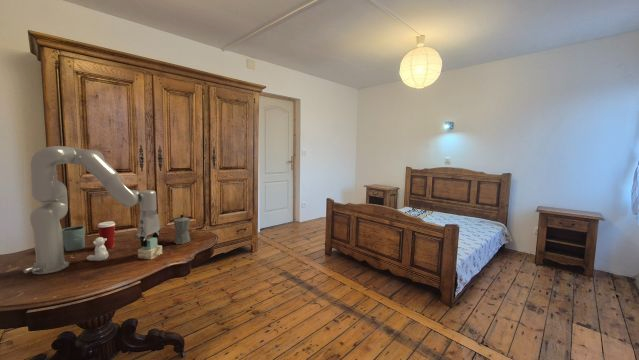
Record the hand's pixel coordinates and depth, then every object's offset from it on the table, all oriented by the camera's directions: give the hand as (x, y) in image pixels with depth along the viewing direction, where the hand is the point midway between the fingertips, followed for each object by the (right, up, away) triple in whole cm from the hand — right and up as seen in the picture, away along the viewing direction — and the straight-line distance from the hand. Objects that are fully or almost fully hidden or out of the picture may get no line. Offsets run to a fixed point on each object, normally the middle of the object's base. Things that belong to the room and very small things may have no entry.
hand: (150, 243), depth 146 cm
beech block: (0, -7, +1) cm, 7 cm away
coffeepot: (+5, -5, +24) cm, 25 cm away
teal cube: (0, -2, 0) cm, 2 cm away
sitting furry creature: (-23, -7, -5) cm, 25 cm away
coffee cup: (-32, -5, +11) cm, 34 cm away
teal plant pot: (-50, -5, +8) cm, 50 cm away
